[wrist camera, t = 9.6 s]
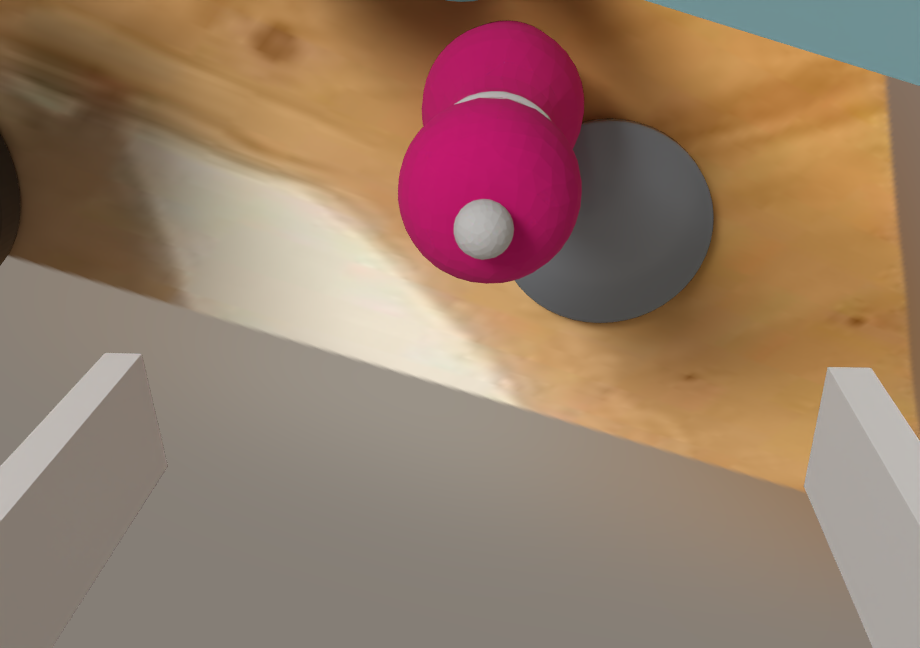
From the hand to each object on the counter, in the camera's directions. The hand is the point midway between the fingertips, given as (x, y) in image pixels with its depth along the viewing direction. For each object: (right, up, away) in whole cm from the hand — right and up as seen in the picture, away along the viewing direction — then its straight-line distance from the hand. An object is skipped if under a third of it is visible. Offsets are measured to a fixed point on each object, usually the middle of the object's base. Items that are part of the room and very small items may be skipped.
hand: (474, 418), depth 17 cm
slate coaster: (+7, +7, +28) cm, 30 cm away
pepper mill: (+2, +14, +25) cm, 29 cm away
